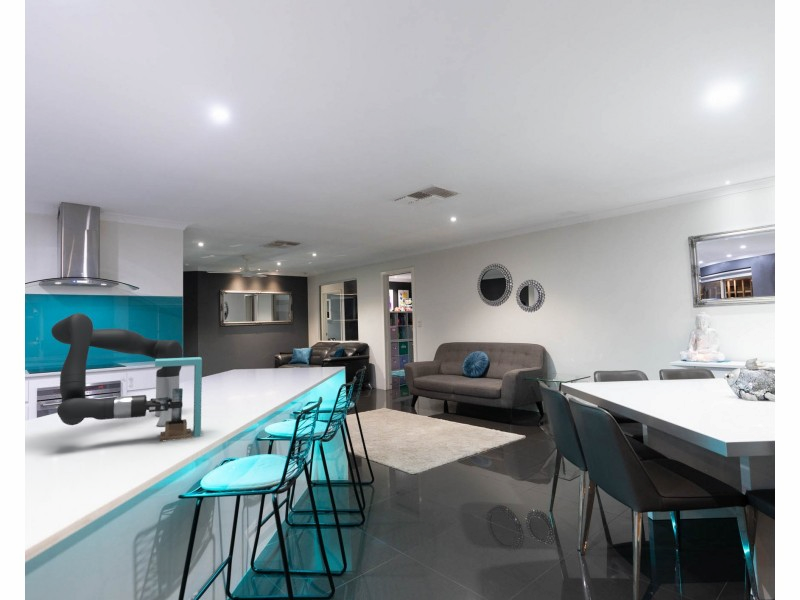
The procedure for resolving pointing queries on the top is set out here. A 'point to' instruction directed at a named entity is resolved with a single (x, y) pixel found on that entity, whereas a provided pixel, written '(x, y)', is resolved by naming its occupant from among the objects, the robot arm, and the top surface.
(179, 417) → the peg
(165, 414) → the flask
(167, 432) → the socket
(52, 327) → the robot arm
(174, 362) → the teal angle bracket
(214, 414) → the top surface
